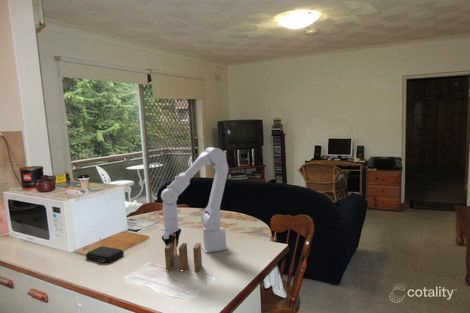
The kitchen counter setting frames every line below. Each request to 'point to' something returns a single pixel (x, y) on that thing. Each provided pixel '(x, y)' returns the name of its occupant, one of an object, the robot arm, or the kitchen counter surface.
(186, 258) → the domino
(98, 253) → the carrying case or bag
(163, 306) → the kitchen counter surface
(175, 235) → the end domino
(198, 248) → the domino
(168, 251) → the domino
